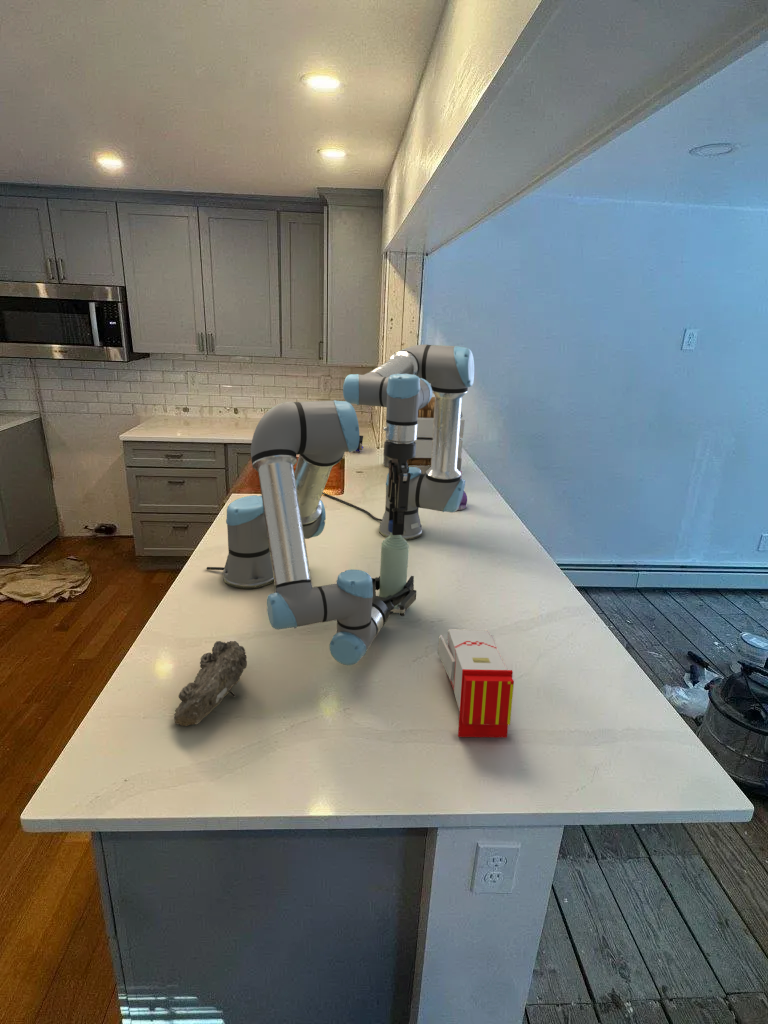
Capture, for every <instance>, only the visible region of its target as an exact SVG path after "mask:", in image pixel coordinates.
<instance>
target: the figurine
mask: <svg viewBox="0 0 768 1024" xmlns="http://www.w3.org/2000/svg"><path fill="white" fill-rule="evenodd" d="M460 473H461V479H463V470H461V471H460ZM467 495H468V494H467V493H466V491H465V490H464V492H463V496H462V499H461V502H460V505H459V507H458V509H457V510H456V511H460V510H461V511H462V510H464V509H466V508H467V503H468V496H467Z"/></svg>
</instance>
